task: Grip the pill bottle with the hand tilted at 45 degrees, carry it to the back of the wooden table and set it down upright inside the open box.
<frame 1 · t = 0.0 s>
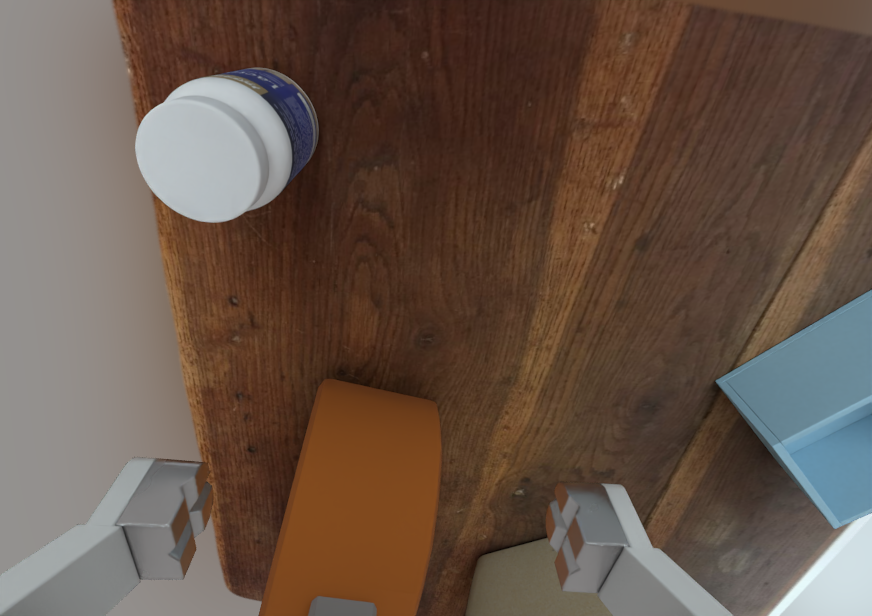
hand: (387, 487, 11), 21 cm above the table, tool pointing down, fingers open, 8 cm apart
alarm clock: (352, 464, 41), on the table
pill bottle: (270, 122, 26), on the table
flower pot: (548, 568, 51), on the table
open box: (823, 381, 38), on the table
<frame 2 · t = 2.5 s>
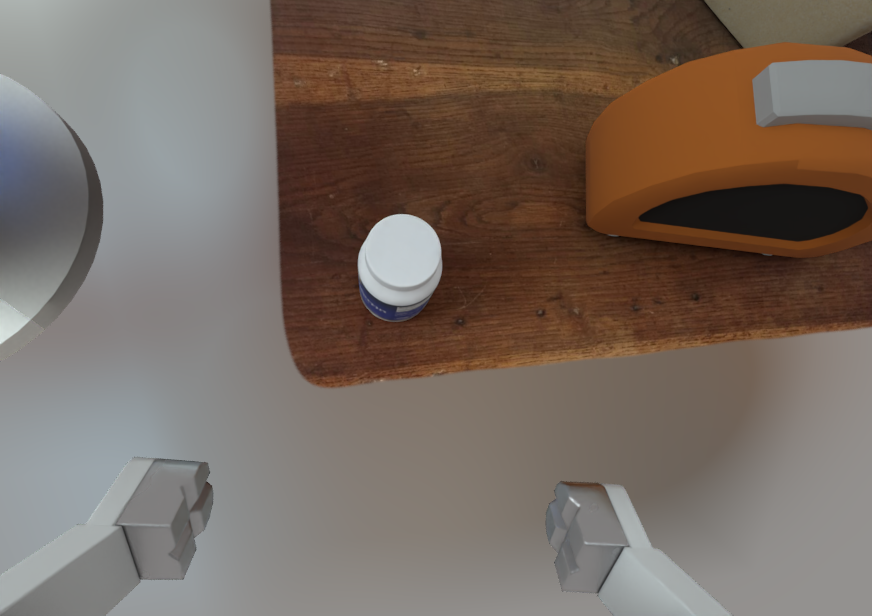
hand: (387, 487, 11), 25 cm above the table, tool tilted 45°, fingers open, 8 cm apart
alarm clock: (687, 208, 43), on the table
pill bottle: (394, 289, 38), on the table
flower pot: (766, 12, 50), on the table
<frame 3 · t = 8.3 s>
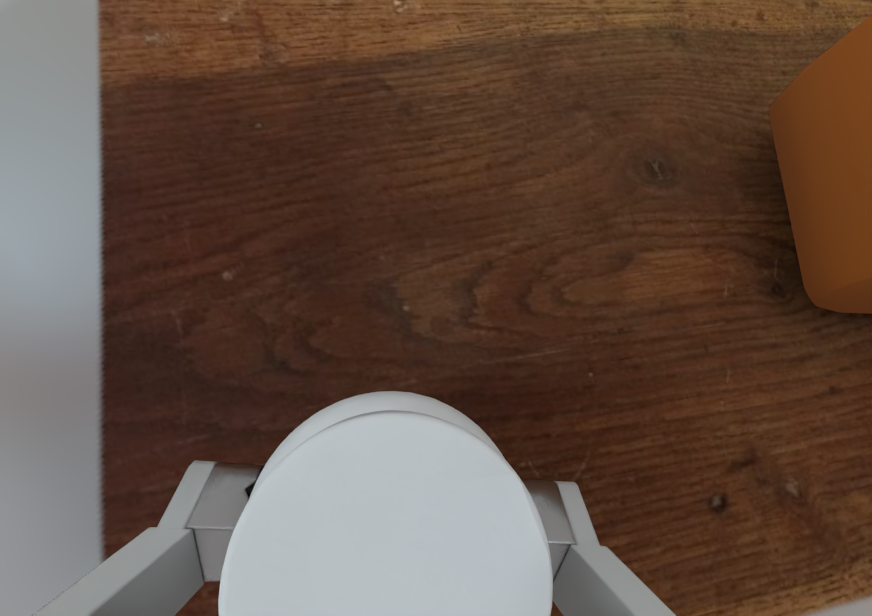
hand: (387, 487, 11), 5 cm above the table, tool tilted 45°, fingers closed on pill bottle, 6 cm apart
pill bottle: (384, 486, 16), on the table, touching gripper
when the fingers open (6 cm above the table, at t = 20.0 s): pill bottle stays where it is, resting on open box.
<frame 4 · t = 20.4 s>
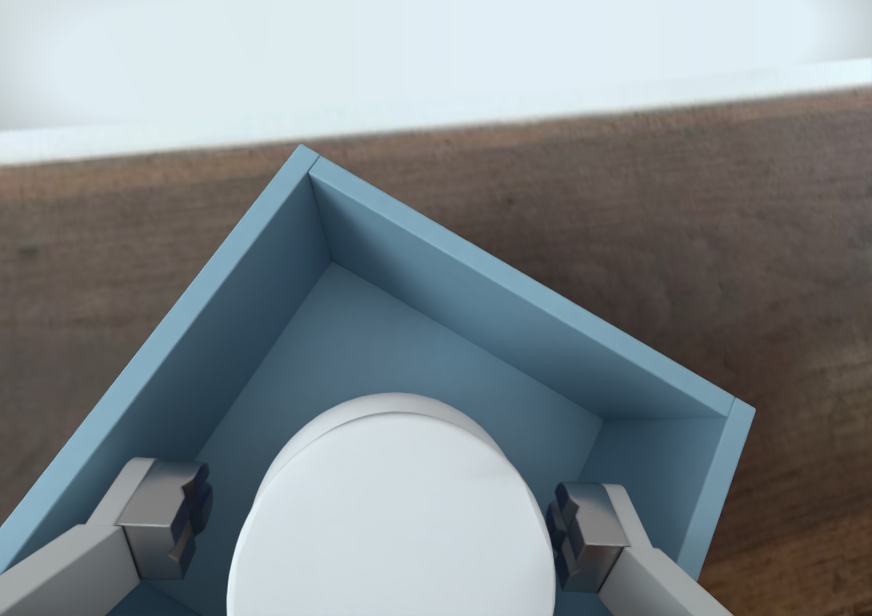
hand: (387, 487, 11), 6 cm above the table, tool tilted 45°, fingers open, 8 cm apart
pill bottle: (386, 486, 16), resting on open box
open box: (384, 484, 16), on the table
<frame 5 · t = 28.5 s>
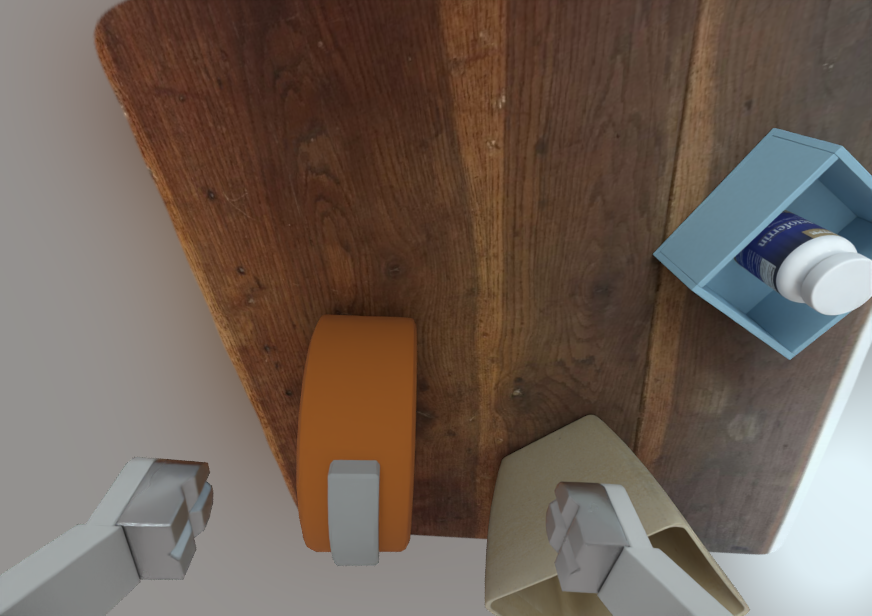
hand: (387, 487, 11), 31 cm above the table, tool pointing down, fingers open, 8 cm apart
alarm clock: (370, 392, 50), on the table
pill bottle: (757, 235, 42), resting on open box
flower pot: (569, 462, 57), on the table
open box: (755, 233, 42), on the table
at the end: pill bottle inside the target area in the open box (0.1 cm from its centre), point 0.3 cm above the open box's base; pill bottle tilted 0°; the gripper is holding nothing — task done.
